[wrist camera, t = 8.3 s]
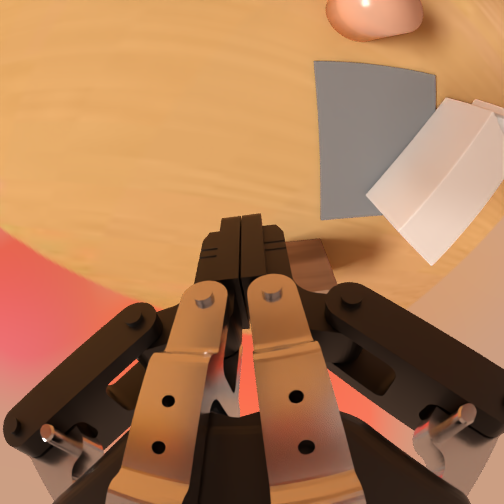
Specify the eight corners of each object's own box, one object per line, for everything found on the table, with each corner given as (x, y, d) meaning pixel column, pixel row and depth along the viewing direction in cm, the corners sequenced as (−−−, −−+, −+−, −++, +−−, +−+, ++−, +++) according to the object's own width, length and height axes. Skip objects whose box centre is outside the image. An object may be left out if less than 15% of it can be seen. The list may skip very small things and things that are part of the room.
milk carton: (396, 232, 20) (508, 86, 11) (363, 195, 26) (460, 75, 17) (430, 268, 23) (528, 140, 14) (399, 230, 28) (486, 121, 20)
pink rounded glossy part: (321, -12, 14) (346, -38, 8) (378, -4, 14) (416, -21, 8) (329, 39, 17) (359, 26, 12) (386, 45, 17) (427, 40, 11)
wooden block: (274, 243, 30) (282, 295, 23) (320, 238, 30) (338, 288, 23) (277, 277, 33) (284, 330, 26) (318, 273, 32) (333, 324, 26)
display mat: (313, 61, 19) (314, 61, 18) (433, 75, 18) (435, 75, 18) (320, 218, 28) (321, 220, 28) (422, 211, 27) (424, 212, 27)
